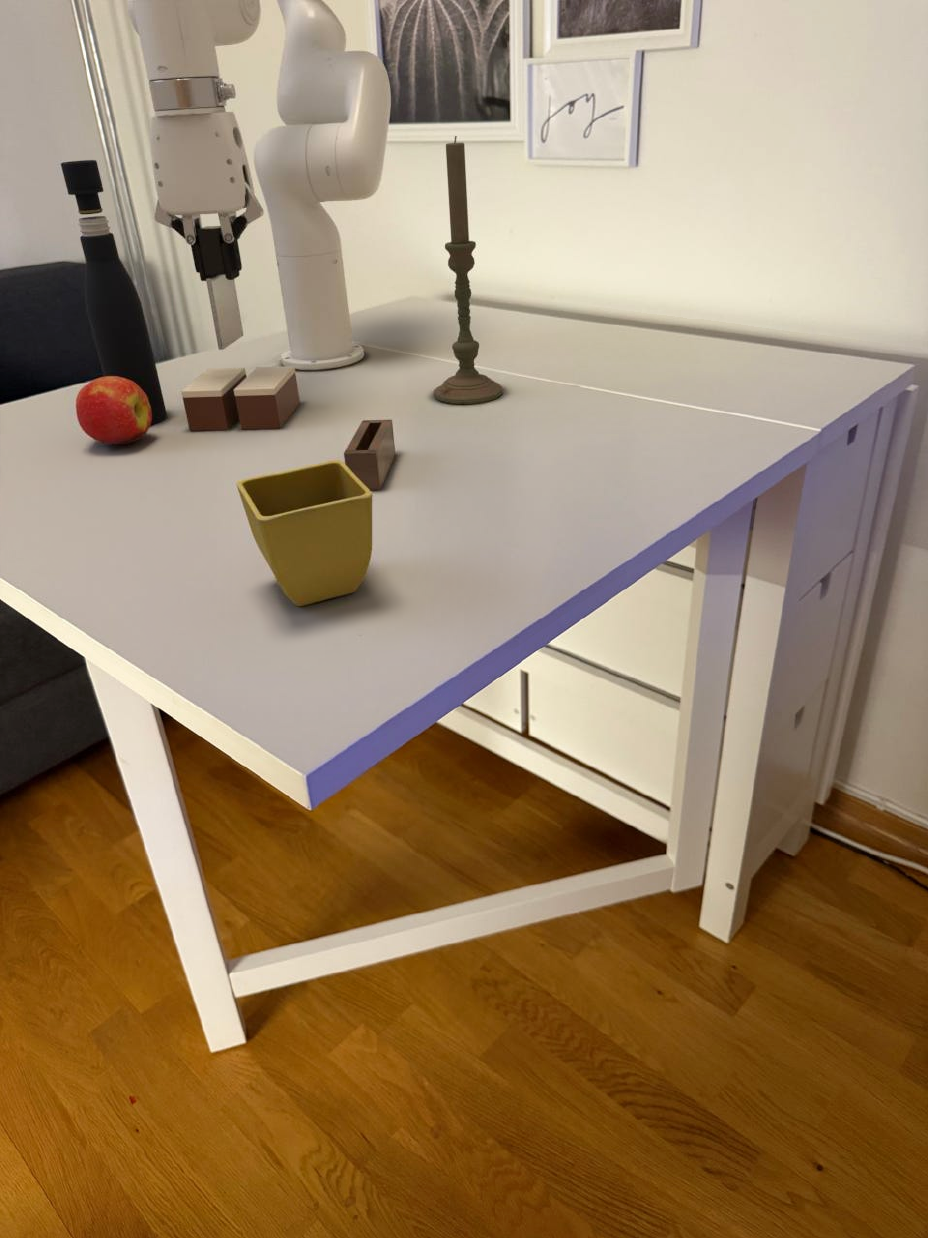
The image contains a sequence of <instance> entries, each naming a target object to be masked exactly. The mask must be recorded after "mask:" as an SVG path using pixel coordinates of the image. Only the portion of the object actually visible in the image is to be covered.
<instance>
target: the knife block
mask: <svg viewBox="0 0 928 1238" xmlns="http://www.w3.org/2000/svg"><path fill="white" fill-rule="evenodd" d="M395 456H396V446H395V436H394V424H393V419H364V420H362V421H361V422H360V424H359V425H358V427H357V429H356V431H355V433H354V435H353V436H352V438H351V439H350V442H349V444H348V445H347V447H346V449H345V450H344V451H343V458H344V463H345V465H346V466H347V467H348V468H349V469H350V470H351V471H352V472H353V473H354V475H355V476H356V477H357V478H358V479H359V480H360V481H361V482H362V483H363V484H364V485H365V486H366V487H367V488H368V489H369V490H370V491H380V490H381V489H382V486H383V485H384V482H385V480H386V477H387V475H388V473H389V470H390V468H391V465H392V463H393V461H394V458H395Z"/></svg>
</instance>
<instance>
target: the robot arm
mask: <svg viewBox="0 0 928 1238" xmlns="http://www.w3.org/2000/svg"><path fill="white" fill-rule="evenodd" d="M276 2H277V5H278V7H279V10H280V13H281V16H282V19H283V23H284V29H285V31H284V32H285V33H284V41H283V49H282V53H281V54H282V55H281V61H280V68H279V74H278V80H277V87H276V88H277V89H276V106H277V107H276V108H277V112H278V115H279V117H280V119H281V121H282V122H283V123H284V125H280V126H277V127H273V128H270V129H267V130H266V131H265V132H263V133H262V134H261V135H260V136H259V138H258V139H257V141H256V143H255V145H254V148H253V149H254V150H253V165H254V168H255V174H256V177H257V180H258V184H259V187H260V190H261V192H262V195H263V199H264V201H265V205H266V210H267V214H268V217H269V222H270V228H271V233H272V239H273V245H274V252H275V258H276V266H277V271H278V272H277V273H278V279H279V285H280V292H281V297H282V304H283V310H284V319H285V324H286V330H287V338H288V344H289V349H288V350H286V351H284V352H283V353H282V354H281V356H280V359H281V364H282V366H294V367H295V370H300V371H318V370H319V371H320V370H330V369H336V368H341V367H346V366H350V365H352V364H356V363H357V362H359V361H361V360H362V359H363V358H364V357H365V350H364V347H363V346H362V345H360V344H357V343H354V342H353V334H352V326H351V325H352V324H351V318H350V308H349V300H348V299H349V298H348V292H347V291H348V289H347V282H346V275H345V273H346V272H345V265H344V258H343V249H342V241H341V235H340V232H339V230H338V227H337V225H336V223H335V222H334V220H333V218H332V216H330V214H329V213H328V212H327V210H326V209H325V208H324V207H323V205H322V204H321V203H326V202H347V201H348V202H349V201H362V200H366V199H369V198H371V197H373V196H374V195H375V194H376V192H377V191H378V189H379V187H380V183H381V181H382V176H383V170H384V162H385V154H386V148H387V147H386V146H387V139H388V134H389V133H388V132H389V127H390V126H389V124H390V117H391V107H392V95H391V93H392V92H391V85H390V79H389V75H388V71H387V69H386V66H385V65H384V63H383V61H382V60H381V59H380V58H379V57H378V56H377V55H376V54H374V53H372V52H370V51H365V50H347V51H346V47H347V35H346V31H345V28H344V26H343V24H342V23H341V21H340V19H339V18H338V16H337V15H336V13H334V11H333V9H332V8H331V7H330V6H329V5H328V4H327V3H326V2H325V1H324V0H276ZM126 5H127V11H128V12H127V13H128V16H129V17H128V18H129V19H130V22H131V25H132V27H133V29H134V31H135V33H137V35H138V36H139V37H138V38H139V41H140V46H141V51H142V57H143V62H144V66H145V73H146V76H147V81H148V86H149V91H150V96H151V101H152V107H153V111H154V116H150V117H149V139H150V154H151V164H152V171H153V178H154V185H155V190H156V195H157V203H156V208H155V212H154V220H155V222H157V223H159V224H161V225H162V226H165V227H168V228H171V229H173V230H174V231H175V232H176V233H177V234H178V235H180V236H181V237H182V238H183V239H184V240H185V242H186V243H187V245H189V246H190V247H191V248H190V249H191V253H192V258H193V263H194V264H193V265H194V268H195V272H196V273H199V277H200V281H201V282H206V279H207V278H209V277H211V276H213V275H207V276H206V275H205V269H204V264H203V258H202V253H201V247H200V242H199V236H198V231H197V229H200V228H203V223H202V217H201V215H212V214H213V215H215V214H217V217H218V221H219V226H221V230H222V235H223V238H222V239H223V243H222V244H221V252H222V257H223V263H224V268H225V276H226V279H228V280H233V279H234V280H235V279H237V278H238V277H240V275H241V274H240V272H241V271H242V268H243V265H242V258H241V253H240V247H239V241H238V240H239V239H240V238H241V235H242V234H243V233H244V231H245V230H246V228H247V227H248V226H249V225H250V224H252V223H253V222H255V221H256V220H258V219H259V218H261V217H263V216H264V214H265V211H264V208H263V207H262V205H261V203H260V201H259V200H258V198H257V196H256V194H255V188H254V182H253V177H252V174H251V168H250V164H249V160H248V156H247V152H246V148H245V143H244V141H243V137H242V136H243V135H242V133H241V129H240V126H239V124H238V120H237V118H236V114H235V113H234V111H226V106H227V101H229V100H231V99H236V97H237V95H236V94H237V93H236V88H235V85H234V84H233V83H229V84H227V83H226V82H224V81H223V78H221V75H220V74H221V73H220V67H219V63H218V57H217V51H216V47H220V46H221V47H223V46H232V45H237V44H241V43H244V42H246V41H248V40H249V39H250V38H252V37H253V36H254V34H255V33H256V31H257V30H258V27H259V24H260V21H261V14H262V13H261V1H260V0H126ZM242 209H245V211H244V212H243V213H242V214H240V215H237V212H239V211H240V210H242ZM179 216H181V217H179Z"/></svg>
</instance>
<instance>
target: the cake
mask: <svg viewBox="0 0 928 1238" xmlns="http://www.w3.org/2000/svg"><path fill="white" fill-rule="evenodd" d="M246 377H247V372H246V367H227V368H226V367H225V368H224V367H223V368H222V367H221V368H207V369H206V370H205V371H204V372H203V373H201V374H200V375H199V376H198V377H196V378H195V379H194V380H193V381H191V382H190V383H189V384H188V385H187V386H185V387H184V388H183V389H182V390H181V391H180V393H181V399H182V402H183V406H184V411H185V415H186V420H187V424H188V425H187V426H188V429H189V431H190V432H195V431H196V432H198V431H201V432H202V431H204V432H205V431H229V430H230V429H231V428H232V427H233V426H234V424H236V422H237V421H239V415H238V410H237V405H236V399H235V394H234V389H235V388H236V387H237V386H238V385H239V384H240V383H241V382H242V381H243V380H244V379H245V378H246Z"/></svg>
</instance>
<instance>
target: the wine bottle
mask: <svg viewBox="0 0 928 1238" xmlns="http://www.w3.org/2000/svg"><path fill="white" fill-rule="evenodd" d="M60 167H61V171H62V175H63V179H64V183H65V187H66V191H67V194H68V195H70V196H74V197H75V200H76V204H77V208H78V214H79V215H96V214H101V213H103V207H102V204H101V201H100V196H99V193H103V192H104V187H103V182H102V178H101V174H100V170H99V165H98V161H97V160H96V159H85V160H72V161H64V162H61V163H60ZM78 221H79V222H78V226H79V227H80V233H81V234H82V235H81V236H80V237H79V239H80V244H81V248H82V251H83V255H84V259H85V272H84V299H85V300H84V301H85V310H86V313H87V317H88V321H89V325H90V328H91V333H92V336H93V341H94V344H95V347H96V352H97V355H98V359H99V364H100V367H101V371H102V374H103V377H106V376H117V377H122V378H125V379H128V380H131V381H133V382H134V383H136V384H137V385H138V386H139V387H140V388H141V389H142V390H143V391H144V392H145V394H146V395H147V397H148V401H149V404H150V406H151V411H152V421H151V425H150V426H153V425H156V424H159V423H161V422H163V421H165V420H166V419H167V418H168V413H167V409H166V408H167V407H166V404H165V400H164V395H163V391H162V387H161V381H160V378H159V374H158V373H159V372H158V369H157V365H156V361H155V355H154V351H153V348H152V343H151V340H150V339H151V338H150V335H149V330H148V326H147V322H146V317H145V314H144V309H143V304H142V301H141V298H140V295H139V292H138V290H137V288H136V286H135V284H134V282H133V280H132V277H131V276H130V274H129V273H128V271H127V268H126V267H125V265H124V264H123V262H122V260H121V259H120V256H119V252H118V251H119V250H118V248H117V243H116V239H115V236H114V233H112V232H110V230H111V227H110V226H109V220H107V216H106V215H96V216H86V217H81V218H78Z"/></svg>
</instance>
